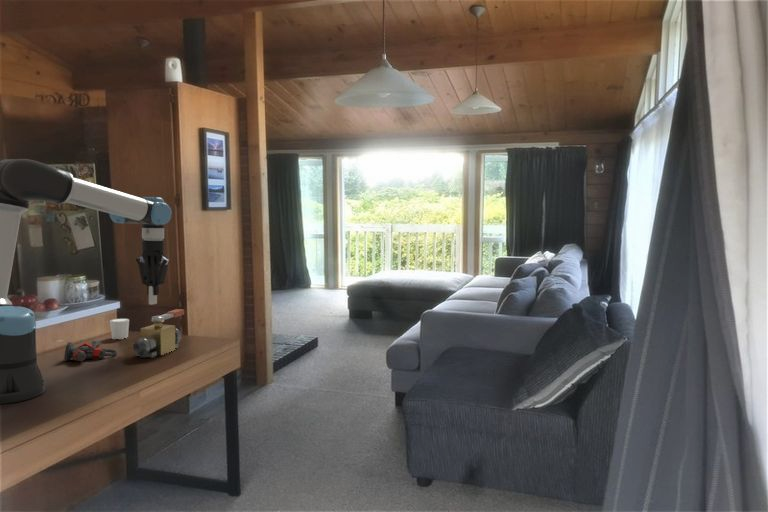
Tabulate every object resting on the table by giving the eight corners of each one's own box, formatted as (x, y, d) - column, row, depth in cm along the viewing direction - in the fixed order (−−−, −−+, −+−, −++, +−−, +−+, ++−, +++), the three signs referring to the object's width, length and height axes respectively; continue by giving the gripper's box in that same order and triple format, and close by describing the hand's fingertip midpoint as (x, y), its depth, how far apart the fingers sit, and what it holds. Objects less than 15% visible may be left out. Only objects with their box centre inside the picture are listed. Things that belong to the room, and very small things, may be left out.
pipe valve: (151, 359, 185) (150, 328, 184) (131, 357, 187) (130, 326, 186) (183, 346, 203) (183, 318, 202) (164, 345, 205) (164, 316, 204)
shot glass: (133, 336, 218) (132, 318, 217) (123, 340, 211) (122, 322, 210) (116, 335, 218) (116, 317, 218) (106, 339, 211) (105, 321, 211)
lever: (159, 323, 192) (159, 318, 192) (149, 322, 193) (149, 317, 192) (185, 314, 207) (185, 309, 207) (175, 313, 208) (175, 309, 208)
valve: (109, 369, 181) (58, 365, 177) (123, 352, 206) (79, 348, 202) (112, 350, 181) (61, 346, 177) (126, 335, 206) (81, 331, 202)
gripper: (130, 239, 200) (130, 304, 202) (161, 240, 197) (161, 306, 198) (144, 238, 207) (144, 301, 209) (175, 240, 204) (174, 303, 206)
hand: (152, 303), depth 204 cm, fingers closed
